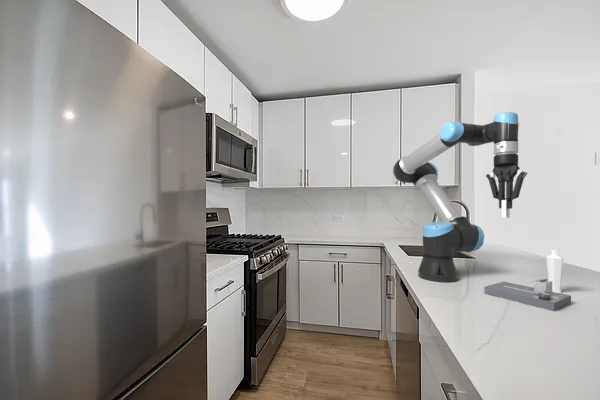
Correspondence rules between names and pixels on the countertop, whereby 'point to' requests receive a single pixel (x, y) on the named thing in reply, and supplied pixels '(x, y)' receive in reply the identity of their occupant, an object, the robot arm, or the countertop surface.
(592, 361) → the countertop surface
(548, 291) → the fader
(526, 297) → the console
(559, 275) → the perfume bottle
